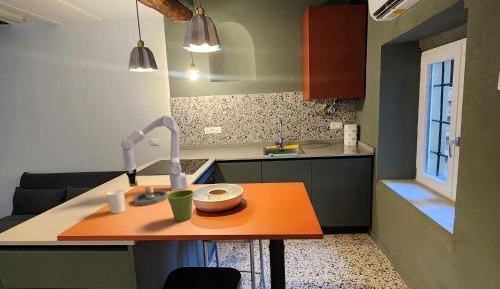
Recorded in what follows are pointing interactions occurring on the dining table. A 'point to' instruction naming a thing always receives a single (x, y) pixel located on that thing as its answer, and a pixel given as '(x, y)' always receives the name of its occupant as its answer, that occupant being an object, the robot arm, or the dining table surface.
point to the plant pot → (181, 204)
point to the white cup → (116, 201)
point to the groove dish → (148, 202)
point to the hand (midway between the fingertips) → (133, 183)
